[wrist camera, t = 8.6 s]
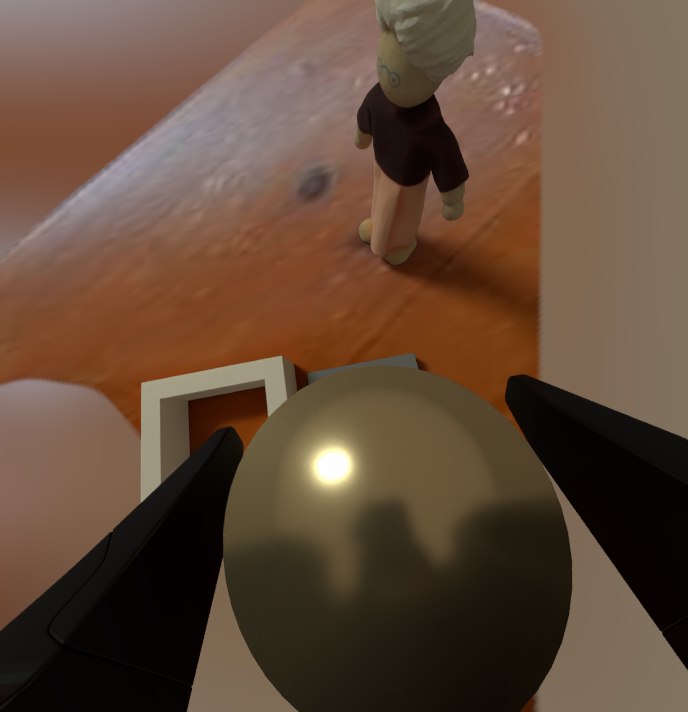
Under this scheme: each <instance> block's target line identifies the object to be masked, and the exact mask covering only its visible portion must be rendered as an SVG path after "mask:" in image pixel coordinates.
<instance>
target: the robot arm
mask: <svg viewBox="0 0 688 712" xmlns="http://www.w3.org/2000/svg"><path fill="white" fill-rule="evenodd" d="M505 401H506V403H507V405H508V407H509V409H510V411H511V412H512V414H513V416H514V418H515V420H516V421H517V423H518V425H519V427H520V429H521V430H522V432H523V434H524V436H525V438H526V439H527V441H528V443H529V444H530V446H531V448H532V449H533V451H534V452H535V454H536V455H537V456H538V458H539V459H540V461H541V462H542V464H543V465H544V466H545V468H546V469H547V470H548V472H549V473H550V475H551V476H552V478H553V479H554V481H555V482H556V483H557V485H558V486H559V487H560V489H561V491H562V492H563V493H564V495H565V496H566V498H567V499H568V501H569V502H570V503H571V505H572V506H573V508H574V509H575V510H576V512H577V513H578V515H579V516H580V517H581V519H582V520H583V522H584V523H585V525H586V526H587V527H588V529H589V530H590V532H591V533H592V535H593V536H594V537H595V539H596V540H597V542H598V543H599V544H600V546H601V547H602V549H603V550H604V552H605V553H606V554H607V556H608V557H609V559H610V560H611V562H612V563H613V564H614V566H615V567H616V569H617V570H618V572H619V573H620V574H621V576H622V577H623V579H624V580H625V581H626V583H627V584H628V586H629V587H630V588H631V590H632V591H633V593H634V594H635V596H636V597H637V598H638V600H639V601H640V603H641V604H642V606H643V607H644V608H645V610H646V611H647V613H648V614H649V616H650V617H651V618H652V620H653V621H654V623H655V624H656V625H657V627H658V628H659V630H660V631H662V634H663V636H664V637H665V639H666V640H667V642H668V643H669V644H670V646H671V647H672V649H673V650H674V652H675V653H676V654H677V656H678V657H679V659H680V660H681V662H682V663H683V664H684V666H685V667H686V669H687V670H688V440H687V439H686V438H683V437H681V436H678V435H676V434H673V433H671V432H668V431H666V430H663V429H661V428H658V427H655V426H653V425H651V424H648V423H646V422H643V421H641V420H638V419H635V418H633V417H630V416H628V415H626V414H623V413H620V412H618V411H615V410H613V409H610V408H608V407H605V406H603V405H600V404H598V403H595V402H593V401H590V400H588V399H585V398H583V397H580V396H578V395H575V394H573V393H570V392H568V391H565V390H563V389H560V388H558V387H555V386H552V385H550V384H548V383H545V382H543V381H540V380H538V379H535V378H533V377H530V376H528V375H524V374H521V375H515V376H511V377H509V379H508V382H507V387H506V393H505ZM243 449H244V446H243V442H242V440H241V438H240V437H239V435H238V434H237V432H236V430H235V429H234V428H233V427H232V426H229V427H223V428H220V429H218V430H217V431H216V432H215V433H214V434H213V435H212V436H211V437H210V438H209V439H208V440H207V441H205V442H204V443H203V444H202V445H201V446H200V447H199V448H198V449H197V450H196V451H195V452H194V453H193V454H192V455H191V456H190V457H189V458H188V459H187V460H186V461H184V462H183V463H182V464H181V465H180V466H179V467H178V468H177V469H176V470H175V471H174V472H173V473H172V474H171V475H170V476H169V477H168V478H167V479H166V480H165V481H163V482H162V483H161V484H160V485H159V486H158V487H157V488H156V489H155V490H154V491H153V492H152V493H151V494H150V495H149V496H148V497H147V498H146V499H145V500H143V501H142V502H141V503H140V504H139V505H138V506H137V507H136V508H135V509H134V510H133V511H132V512H131V513H130V514H129V515H128V516H127V517H126V518H125V519H124V520H122V521H121V522H120V524H118V525H117V526H116V527H115V528H114V529H113V532H110V533H109V534H108V535H107V536H106V537H105V538H103V540H101V541H100V542H99V543H98V544H97V545H96V546H95V547H94V548H93V549H92V550H91V551H90V552H89V553H88V554H87V555H85V557H83V558H82V559H81V560H80V561H79V562H78V563H77V564H76V565H75V566H74V567H73V568H71V569H70V570H69V571H68V572H67V573H66V574H65V575H64V576H62V578H60V579H59V580H58V581H57V582H56V583H55V584H53V585H52V586H51V587H50V588H49V589H48V590H47V591H46V592H44V593H43V594H42V595H41V596H40V597H39V598H38V599H36V600H35V601H34V602H33V603H32V604H31V605H30V606H28V607H27V608H26V609H25V610H24V611H23V612H22V613H20V614H19V615H18V616H17V617H16V618H15V619H13V620H12V621H11V622H10V623H9V624H8V625H7V626H5V627H4V628H3V629H2V630H1V631H0V712H187V708H188V704H189V700H190V695H191V691H192V687H191V686H192V685H193V681H194V677H195V673H196V669H197V665H198V661H199V656H200V652H201V648H202V644H203V639H204V635H205V630H206V626H207V622H208V618H209V614H210V609H211V605H212V601H213V597H214V593H215V588H216V584H217V580H218V575H219V571H220V567H221V562H222V559H223V530H224V521H225V512H226V506H227V502H228V497H229V493H230V488H231V485H232V482H233V479H234V477H235V474H236V471H237V468H238V465H239V463H240V461H241V459H242V457H243Z"/></svg>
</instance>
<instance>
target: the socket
mask: <svg viewBox="0 0 688 712" xmlns="http://www.w3.org/2000/svg"><path fill="white" fill-rule="evenodd" d="M263 386H265V388H266V398H267V408H268V417H269V416H270V415H271V414H272V413H273V412H274V411H275V410H276V409H277V408H278V407H279V406H281V405H282V404H283V403H284V402H285V401H286V400H287V399H289V398H290V397H291V396H293V395H294V394H295V393H297V392H298V391H297V384H296V376H295V368H294V363H292V362H291V361H289V360H288V359H286V358H285V357H283V356H278V357H273V358H267V359H262V360H257V361H252V362H247V363H242V364H237V365H231V366H226V367H221V368H216V369H211V370H206V371H201V372H195V373H190V374H185V375H180V376H175V377H170V378H165V379H159V380H154V381H149V382H144V383H142V389H141V502H142V501H143V500H145V499H146V498H147V497H148V496H149V495H150V494H151V493H152V492H153V491H154V490H155V489H156V488H157V487H158V486H159V485H160V484H161V483H162V482H163V481H165V480H166V479H167V478H168V477H169V476H170V475H171V474H172V473H173V472H174V471H175V470H176V469H177V468H178V467H179V466H180V465H181V464H182V463H183V462H184V461H186V460H187V459H188V458H189V457H190V442H189V413H188V401H189V400H194V399H199V398H205V397H210V396H215V395H221V394H226V393H231V392H237V391H242V390H247V389H253V388H258V387H263Z"/></svg>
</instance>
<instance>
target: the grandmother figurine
mask: <svg viewBox="0 0 688 712" xmlns="http://www.w3.org/2000/svg"><path fill="white" fill-rule="evenodd" d="M375 6H376V11H377V12H376V16H377V21H378V24H379V26H380V28H381V36H380V40H379V44H378V51H377V73H378V78H379V82H378V83H377V84H376V85H375V86H374V87H373V88H372V89H371V90H370V91H369V93H368V94H367V96H366V97H365V99H364V101H363V103H362V105H361V107H360V108H359V110H358V113H357V125H356V132H355V134H354V142H355V145H356V146H357V148H359V149H366V148H368V147H369V146H370V144H371V142H372V137H373V147H374V152H375V163H374V191H373V202H372V215H371V217H372V218H369V219H366V220H364V221H363V222H362V223H361V225H360V227H359V235H360V237H361V238H362V240H363V241H365V242H367V243H371V249H372V251H373V253H374V254H375V255H377V256H379V257H383V258H384V259H385V260H386V261H387V262H389V263H390V264H393V265H399V264H402V263H404V262H405V261H406V260H407V259H408V257H409V256H410V254H411V253H412V252H413V250H414V249H415V248H416V245H417V240H416V237H415V235H416V233H417V230H418V227H419V225H420V221H421V216H422V212H423V207H424V200H425V193H426V188H427V184H428V179H429V176H430V172H431V171H432V174H433V178H434V181H435V183H436V185H437V187H438V189H439V191H440V193H441V199H442V201H443V202H444V204H443V207H442V214H443V217H444V218H445V219H446V220H449V221H452V220H456V219H458V218H459V217H460V216H461V215H462V213H463V211H464V202H463V200H462V198H463V196H464V193H465V181H466V180H467V179H468V178H469V173H468V170H467V167H466V165H465V163H464V160H463V157H462V154H461V151H460V148H459V145H458V142H457V140H456V138H455V136H454V134H453V132H452V131H451V129H450V128H449V127H448V126H447V125H446V123H445V122H444V119H443V117H442V115H441V111H440V106H439V104H438V102H437V100H436V97H435V95H434V92H435V91H436V90H437V88H438V87H439V86H440V84H441V83H442V81H443V80H444V79H445V78H446V77H448V76H449V75H451V74H453V73H454V72H455V71H456V70H457V69H458V68H459V67H460V66H461V64H462V63H463V61H464V60H465V58H467V57H468V56H470V55H472V56H473V54H474V38H475V33H476V17H475V9H474V5H473V0H375Z"/></svg>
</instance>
